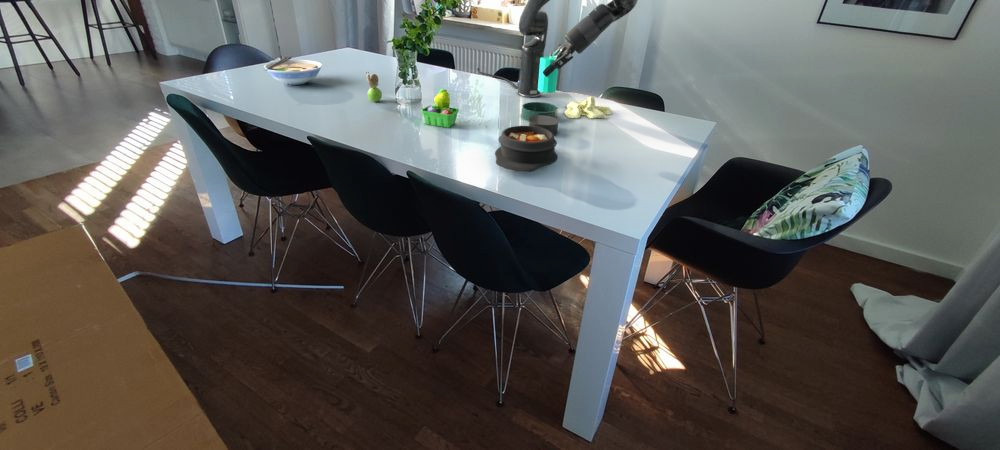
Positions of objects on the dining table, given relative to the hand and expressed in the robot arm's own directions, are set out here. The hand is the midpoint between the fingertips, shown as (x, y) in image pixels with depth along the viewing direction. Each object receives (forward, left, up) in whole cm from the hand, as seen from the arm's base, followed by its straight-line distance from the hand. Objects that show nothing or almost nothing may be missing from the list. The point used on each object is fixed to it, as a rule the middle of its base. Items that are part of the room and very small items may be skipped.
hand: (542, 72), depth 156 cm
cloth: (-10, +30, -20) cm, 37 cm away
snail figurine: (-53, -41, -20) cm, 70 cm away
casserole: (+22, -19, -20) cm, 35 cm away
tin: (-12, +9, -20) cm, 25 cm away
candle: (+1, +2, -6) cm, 6 cm away
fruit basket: (-19, -28, -20) cm, 39 cm away
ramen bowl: (-92, -63, -20) cm, 113 cm away
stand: (+2, +1, -20) cm, 20 cm away
